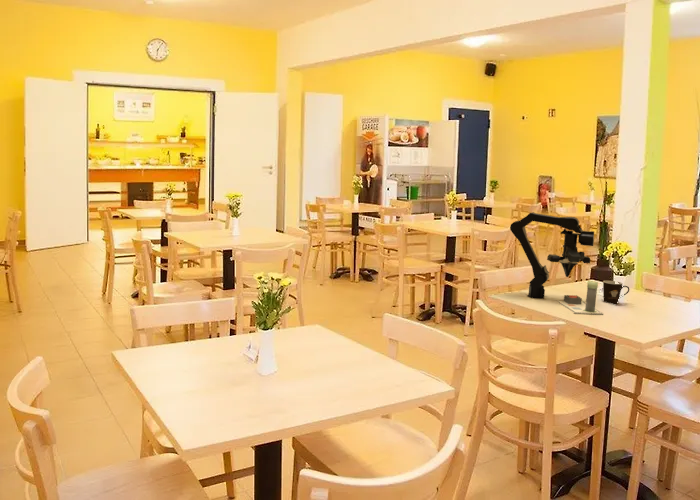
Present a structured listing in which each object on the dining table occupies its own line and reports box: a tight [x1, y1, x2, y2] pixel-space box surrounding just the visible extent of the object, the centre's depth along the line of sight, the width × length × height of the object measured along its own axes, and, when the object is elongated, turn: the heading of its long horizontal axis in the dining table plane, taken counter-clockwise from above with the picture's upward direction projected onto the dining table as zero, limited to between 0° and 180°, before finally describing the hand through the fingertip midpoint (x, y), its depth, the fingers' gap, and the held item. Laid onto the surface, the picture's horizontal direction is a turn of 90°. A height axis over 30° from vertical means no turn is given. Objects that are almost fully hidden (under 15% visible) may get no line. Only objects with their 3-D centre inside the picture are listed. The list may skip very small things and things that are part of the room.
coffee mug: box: [602, 280, 630, 305], centre depth 337 cm, size 12×9×10 cm
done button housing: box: [563, 294, 583, 304], centre depth 331 cm, size 6×6×3 cm
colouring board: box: [556, 300, 604, 316], centre depth 323 cm, size 13×23×1 cm, turn 4°
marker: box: [585, 280, 599, 312], centre depth 315 cm, size 4×4×13 cm
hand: (567, 276), depth 334 cm, fingers closed
